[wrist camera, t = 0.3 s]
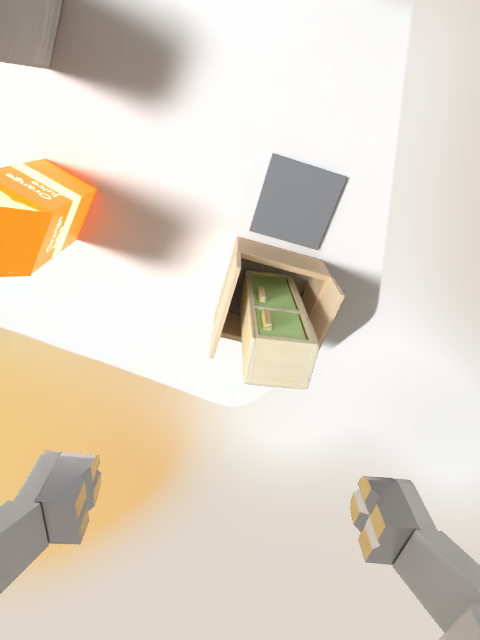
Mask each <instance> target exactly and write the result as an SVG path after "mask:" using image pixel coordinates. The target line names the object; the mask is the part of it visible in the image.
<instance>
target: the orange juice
mask: <svg viewBox="0 0 480 640" xmlns="http://www.w3.org/2000/svg"><path fill="white" fill-rule="evenodd" d="M96 190H97V189H96V188H94V187H93V186H91V185H89V184H88V183H86V182H84V181H82V180H81V179H79V178H77V177H75V176H74V175H72V174H70V173H69V172H67V171H65V170H63V169H62V168H60V167H58V166H56V165H55V164H53V163H51V162H50V161H48V160H46V159H42V160H37V161H32V162H28V163H20V164H15V165H11V166H8V167H4V168H0V277H10V276H31V274H32V273H33V272H34V271H36V270H37V269H38V268H40V267H41V266H42V265H43V264H45V263H46V262H47V261H49V260H50V259H52V258H53V257H55V256H56V255H57V254H59V253H60V252H61V251H62V250H63V249H65V248H66V247H67V246H69V245H70V244H71V243H72V242H74V241H75V240H76V239H77V237H78V234H79V232H80V230H81V227H82V225H83V222H84V220H85V217H86V215H87V212H88V210H89V207H90V205H91V202H92V200H93V197H94V195H95V193H96Z"/></svg>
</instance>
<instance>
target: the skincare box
mask: <svg viewBox="0 0 480 640" xmlns="http://www.w3.org/2000/svg"><path fill="white" fill-rule="evenodd" d="M62 3H63V0H0V62H6V63H12V64H19V65H26V66H32V67H38V68H46V69H49V67H50V62H51V57H52V52H53V47H54V42H55V37H56V33H57V28H58V23H59V18H60V13H61V8H62Z"/></svg>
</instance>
